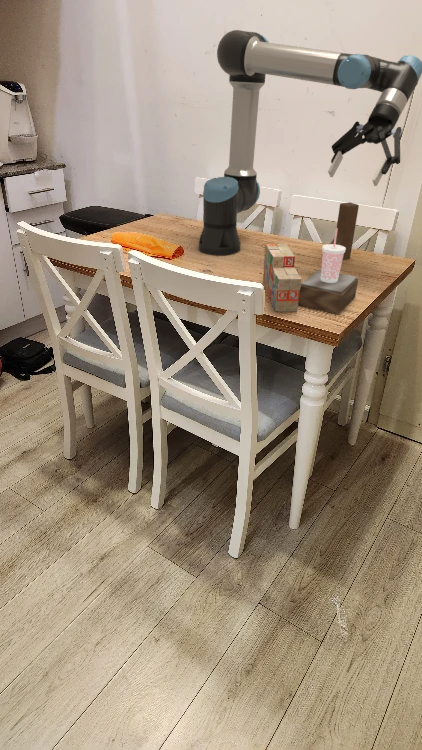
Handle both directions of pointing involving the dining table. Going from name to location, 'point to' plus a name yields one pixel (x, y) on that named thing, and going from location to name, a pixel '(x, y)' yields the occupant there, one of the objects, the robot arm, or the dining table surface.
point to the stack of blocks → (281, 277)
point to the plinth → (328, 293)
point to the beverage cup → (331, 261)
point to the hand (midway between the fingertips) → (351, 178)
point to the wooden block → (346, 227)
